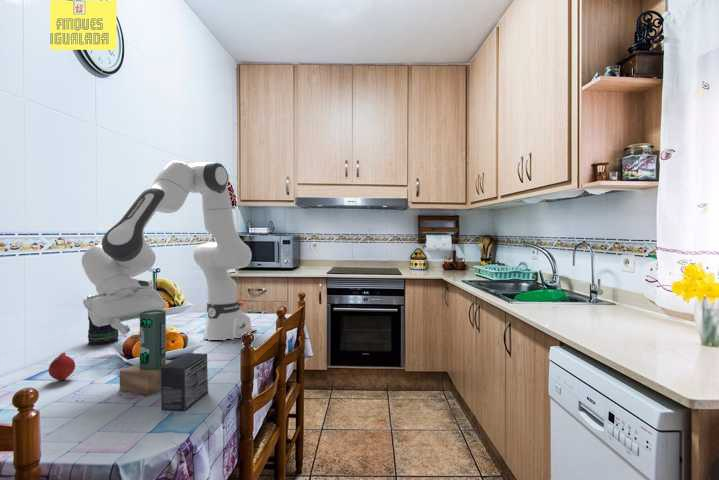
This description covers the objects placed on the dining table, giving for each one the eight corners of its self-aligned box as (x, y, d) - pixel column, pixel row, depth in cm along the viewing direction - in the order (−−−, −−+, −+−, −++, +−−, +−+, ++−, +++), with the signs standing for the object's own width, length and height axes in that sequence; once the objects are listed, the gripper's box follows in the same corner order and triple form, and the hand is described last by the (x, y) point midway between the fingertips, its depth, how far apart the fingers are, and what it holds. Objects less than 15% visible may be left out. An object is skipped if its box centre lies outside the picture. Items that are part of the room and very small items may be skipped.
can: (142, 364, 102) (142, 311, 102) (166, 361, 105) (166, 309, 105) (138, 371, 97) (138, 315, 97) (164, 368, 99) (164, 313, 99)
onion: (59, 385, 100) (60, 356, 100) (43, 384, 101) (43, 355, 101) (80, 377, 105) (80, 350, 105) (64, 376, 106) (64, 349, 106)
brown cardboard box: (156, 374, 108) (156, 357, 108) (183, 380, 104) (183, 362, 104) (119, 388, 98) (119, 370, 98) (148, 395, 93) (148, 376, 93)
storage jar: (91, 340, 144) (92, 302, 144) (121, 337, 148) (121, 301, 148) (84, 347, 135) (84, 307, 135) (115, 344, 139) (115, 305, 139)
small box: (185, 391, 96) (185, 352, 96) (209, 392, 95) (209, 353, 95) (159, 410, 86) (159, 366, 85) (185, 412, 85) (185, 367, 85)
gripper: (85, 289, 95) (110, 330, 92) (155, 281, 114) (178, 314, 111) (74, 305, 97) (99, 345, 93) (145, 294, 116) (167, 327, 112)
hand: (142, 328), depth 102 cm, fingers open, 8 cm apart
